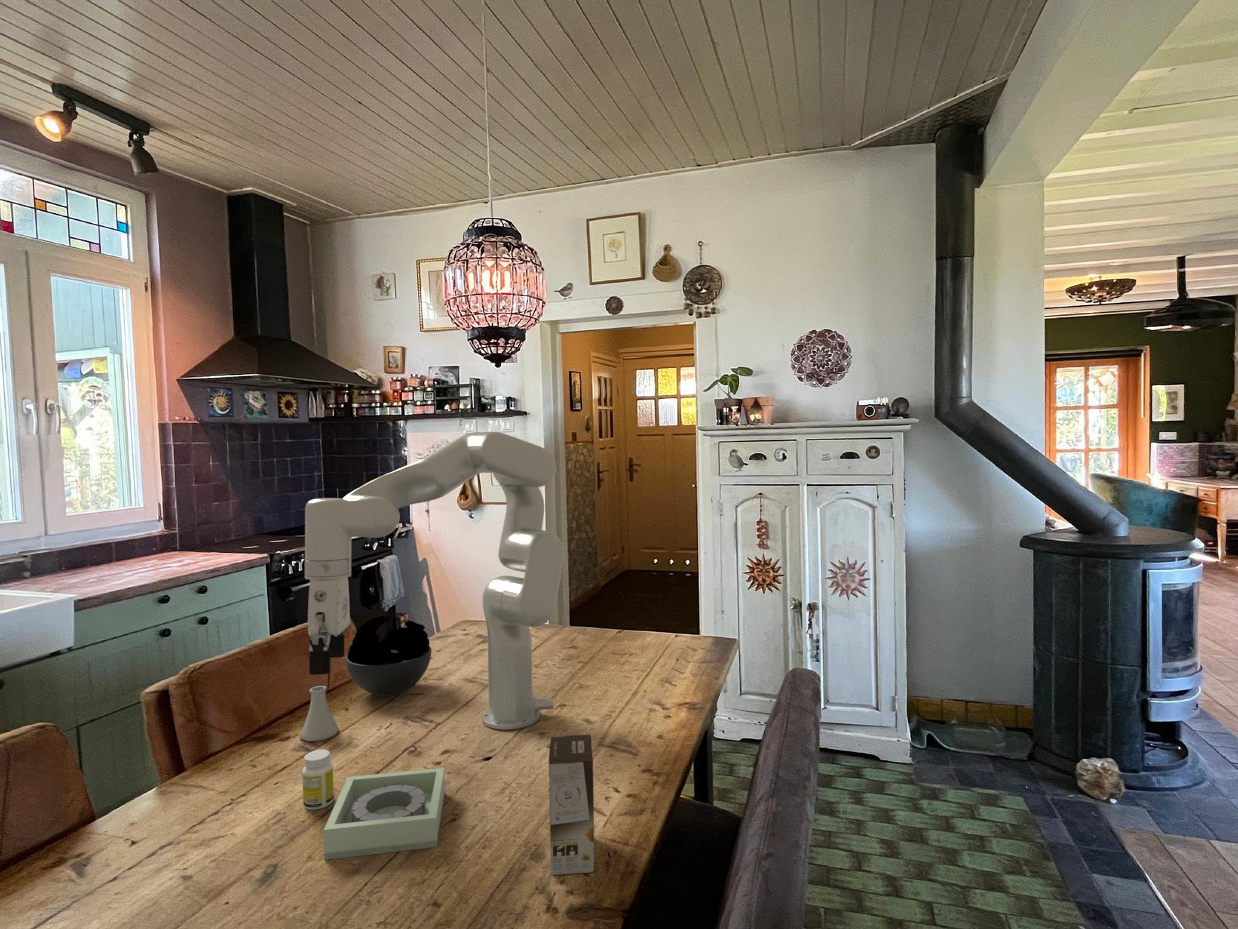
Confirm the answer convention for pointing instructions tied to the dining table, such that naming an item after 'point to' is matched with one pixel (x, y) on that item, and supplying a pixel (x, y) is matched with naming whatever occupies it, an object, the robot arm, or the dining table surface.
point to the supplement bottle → (317, 780)
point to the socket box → (386, 814)
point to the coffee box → (571, 804)
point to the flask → (319, 717)
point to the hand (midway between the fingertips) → (327, 665)
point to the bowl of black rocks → (388, 657)
